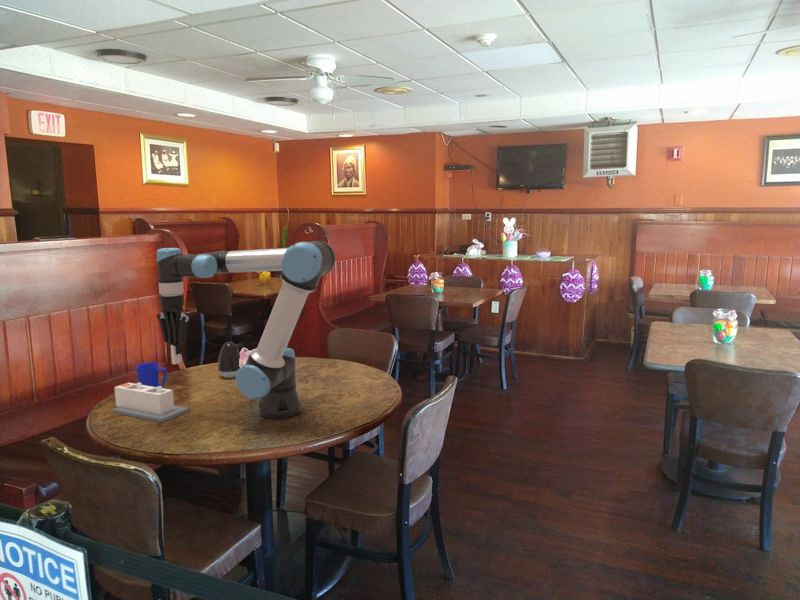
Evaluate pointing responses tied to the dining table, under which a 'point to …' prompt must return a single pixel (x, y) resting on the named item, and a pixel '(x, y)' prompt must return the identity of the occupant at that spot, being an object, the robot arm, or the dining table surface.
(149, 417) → the grey piece
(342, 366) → the dining table surface
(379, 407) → the dining table surface
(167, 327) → the robot arm
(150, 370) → the mug
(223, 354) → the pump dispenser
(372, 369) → the dining table surface
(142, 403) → the white slotted block
